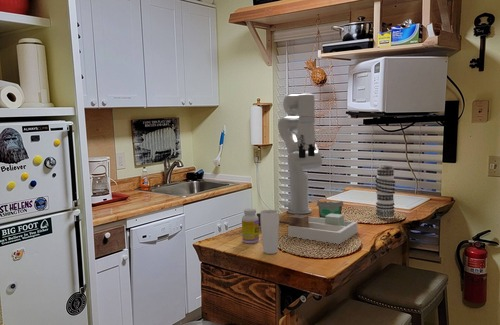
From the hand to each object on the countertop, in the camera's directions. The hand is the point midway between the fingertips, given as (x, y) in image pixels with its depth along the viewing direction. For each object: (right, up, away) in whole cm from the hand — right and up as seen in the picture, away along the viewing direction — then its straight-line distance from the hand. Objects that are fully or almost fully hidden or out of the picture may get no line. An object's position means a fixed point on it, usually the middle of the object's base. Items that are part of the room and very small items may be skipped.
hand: (306, 157), depth 196 cm
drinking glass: (-19, -35, -45) cm, 60 cm away
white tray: (+4, -33, -23) cm, 40 cm away
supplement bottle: (-27, -34, -30) cm, 53 cm away
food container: (+10, -31, -3) cm, 32 cm away
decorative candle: (+38, -29, +5) cm, 49 cm away
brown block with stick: (-14, -31, -17) cm, 38 cm away
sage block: (+9, -31, -21) cm, 38 cm away
